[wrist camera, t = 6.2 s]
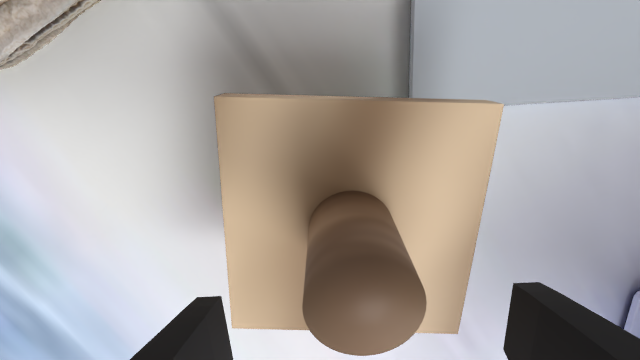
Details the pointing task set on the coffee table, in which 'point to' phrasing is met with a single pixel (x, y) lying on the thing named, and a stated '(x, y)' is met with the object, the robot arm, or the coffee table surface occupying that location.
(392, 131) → the lid
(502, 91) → the mat
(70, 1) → the washcloth
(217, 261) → the coffee table surface
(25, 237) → the coffee table surface
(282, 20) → the coffee table surface
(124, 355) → the coffee table surface
